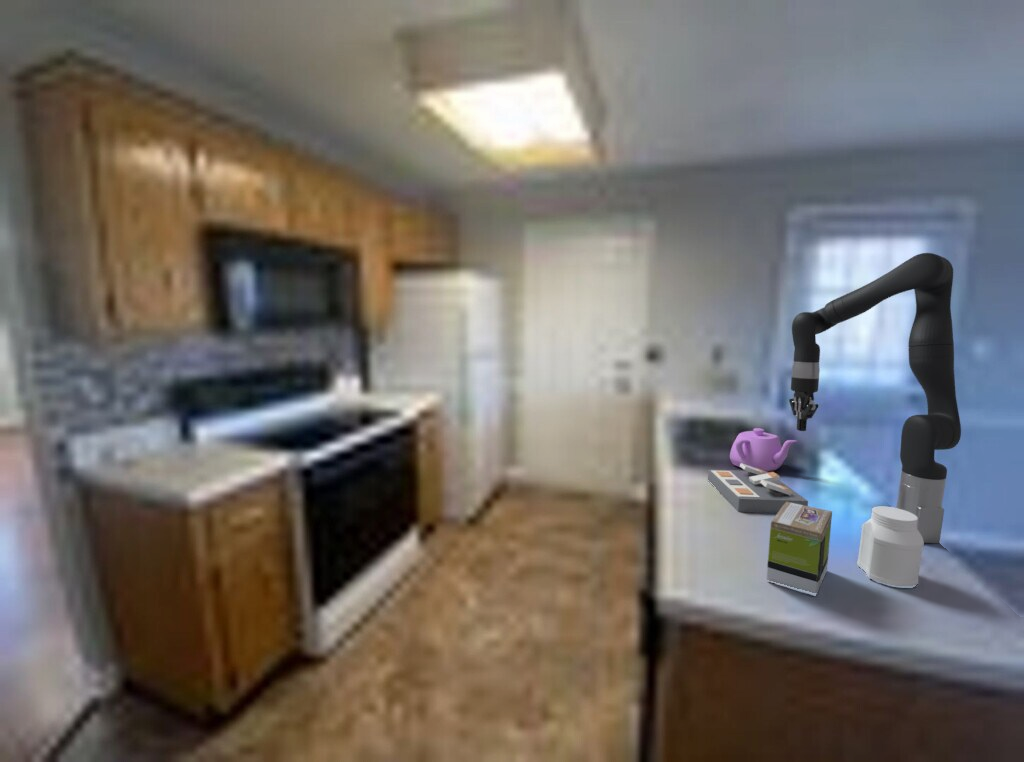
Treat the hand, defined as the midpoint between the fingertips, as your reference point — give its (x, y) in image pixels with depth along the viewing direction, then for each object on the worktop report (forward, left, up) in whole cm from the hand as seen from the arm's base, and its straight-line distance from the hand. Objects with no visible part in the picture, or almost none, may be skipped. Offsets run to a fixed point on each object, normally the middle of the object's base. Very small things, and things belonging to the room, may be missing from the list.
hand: (801, 430), depth 162 cm
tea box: (-51, +25, -22) cm, 61 cm away
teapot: (+29, 0, -22) cm, 36 cm away
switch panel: (-1, +14, -22) cm, 26 cm away
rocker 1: (+7, +11, -16) cm, 20 cm away
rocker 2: (-1, +11, -16) cm, 19 cm away
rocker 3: (-9, +11, -16) cm, 21 cm away
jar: (-49, +4, -22) cm, 54 cm away
